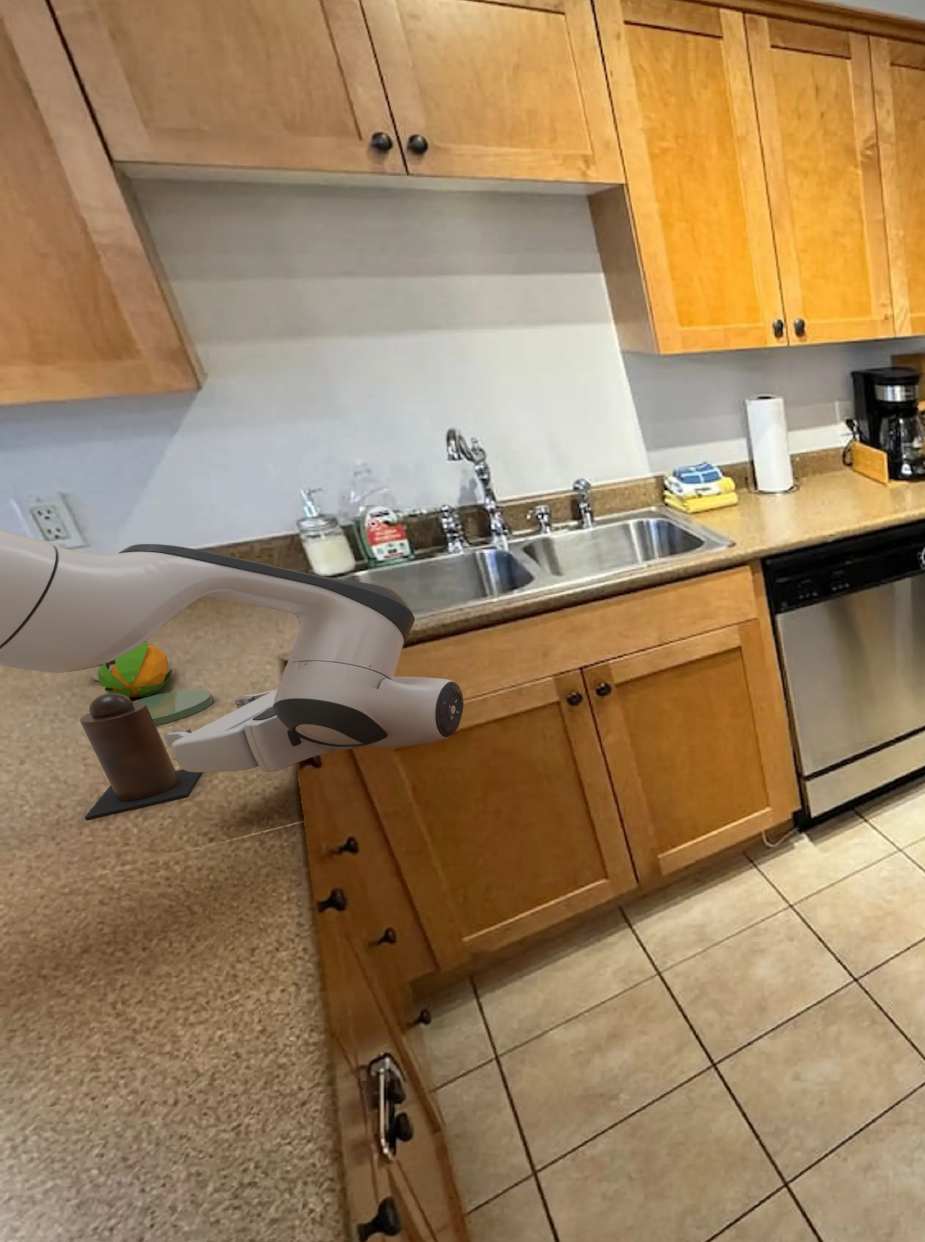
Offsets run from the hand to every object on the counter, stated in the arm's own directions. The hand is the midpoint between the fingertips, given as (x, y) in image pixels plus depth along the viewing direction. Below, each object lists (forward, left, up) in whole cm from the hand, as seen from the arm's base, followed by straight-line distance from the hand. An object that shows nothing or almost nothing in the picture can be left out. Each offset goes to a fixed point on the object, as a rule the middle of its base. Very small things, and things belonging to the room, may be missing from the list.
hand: (207, 720), depth 102 cm
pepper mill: (-9, +5, -9) cm, 14 cm away
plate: (-15, +38, -10) cm, 42 cm away
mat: (-9, +6, -10) cm, 15 cm away
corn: (-20, +53, -10) cm, 57 cm away
